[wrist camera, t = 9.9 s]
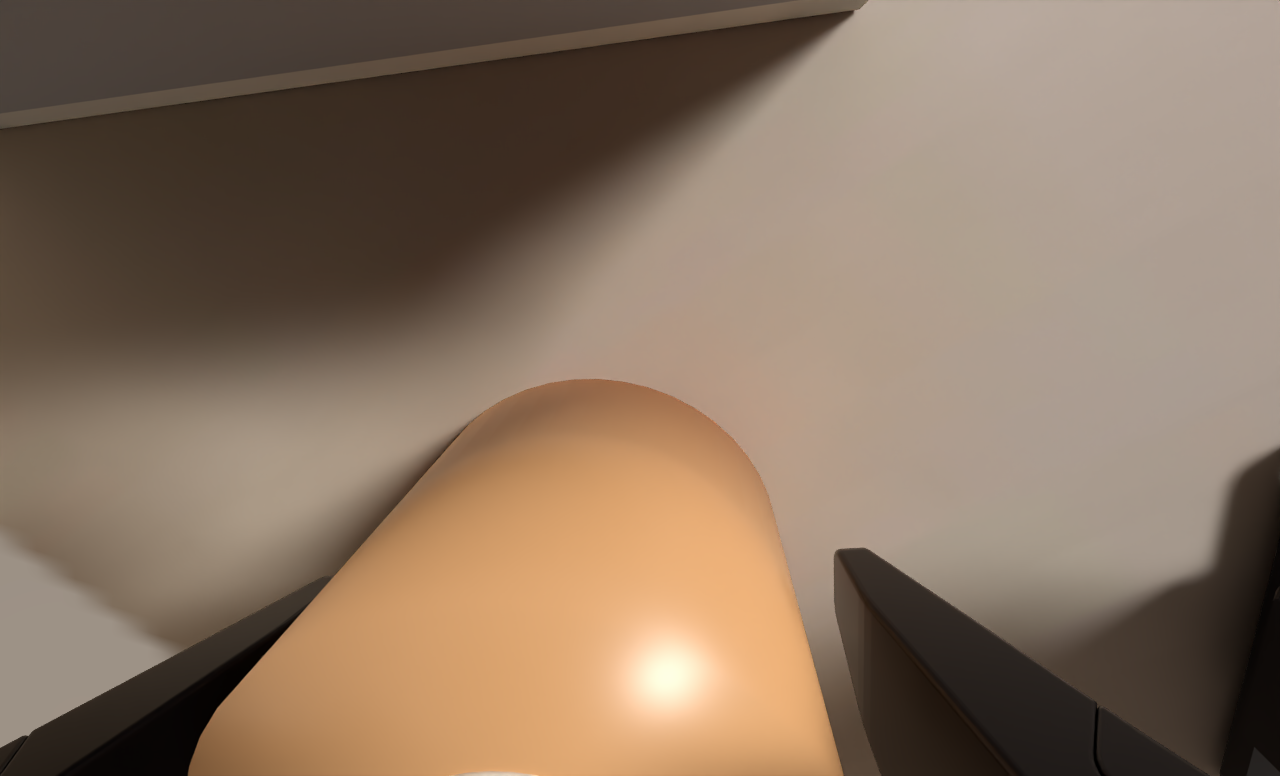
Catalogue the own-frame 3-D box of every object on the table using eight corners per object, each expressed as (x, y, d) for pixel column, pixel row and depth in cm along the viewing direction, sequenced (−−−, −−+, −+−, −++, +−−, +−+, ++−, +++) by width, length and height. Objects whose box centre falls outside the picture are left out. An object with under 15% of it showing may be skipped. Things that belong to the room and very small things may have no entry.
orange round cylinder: (769, 362, 9) (876, 593, 4) (782, 678, 10) (867, 1108, 6) (390, 394, 9) (65, 629, 4) (464, 688, 11) (291, 1088, 6)
